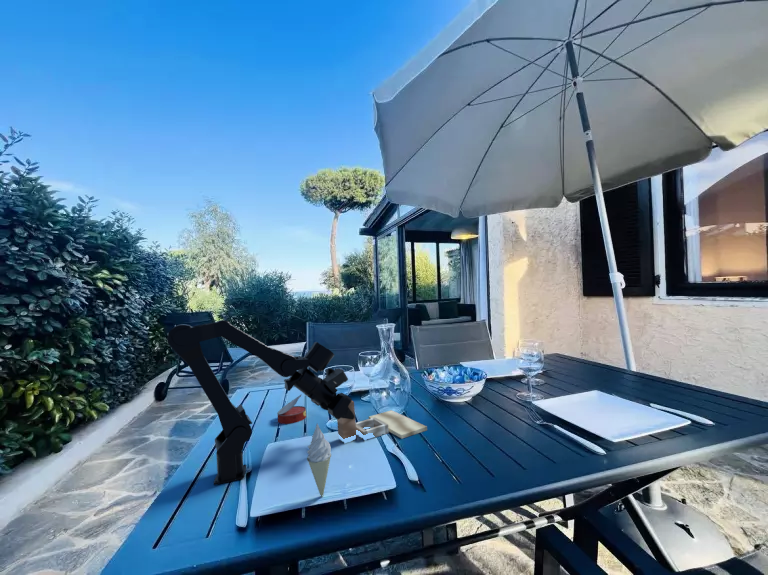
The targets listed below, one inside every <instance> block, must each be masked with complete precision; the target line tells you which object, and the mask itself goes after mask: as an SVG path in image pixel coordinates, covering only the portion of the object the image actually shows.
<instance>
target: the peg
mask: <svg viewBox="0 0 768 575" xmlns="http://www.w3.org/2000/svg"><path fill="white" fill-rule="evenodd" d="M348 407H349V409H350V410H351V411H352V413H353V414H354V415H355V417H354V419H353V420H352V419H346V418H340V419H336V420H337V421H336V423H337V424H336V425H337V435H338V434H339V435H340V436H341V437H342V438H343V439H345V438H348V437H351V436H354V435H356V423H357V422H356V412H355V402H354V401H353V400H352V401H351V403H350V404H349V406H348ZM356 436H357V435H356Z"/></svg>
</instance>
